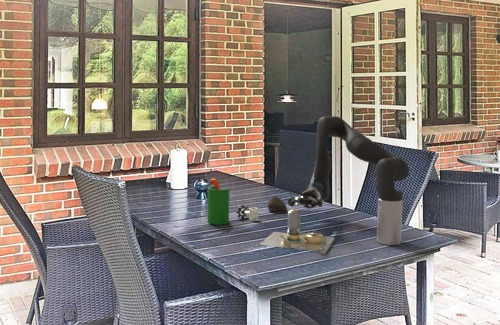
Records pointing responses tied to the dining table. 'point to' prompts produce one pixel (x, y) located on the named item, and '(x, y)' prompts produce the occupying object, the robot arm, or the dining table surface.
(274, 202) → the stone
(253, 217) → the valve
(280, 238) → the carrier
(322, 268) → the dining table surface
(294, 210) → the silver and brass cylinder
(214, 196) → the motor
